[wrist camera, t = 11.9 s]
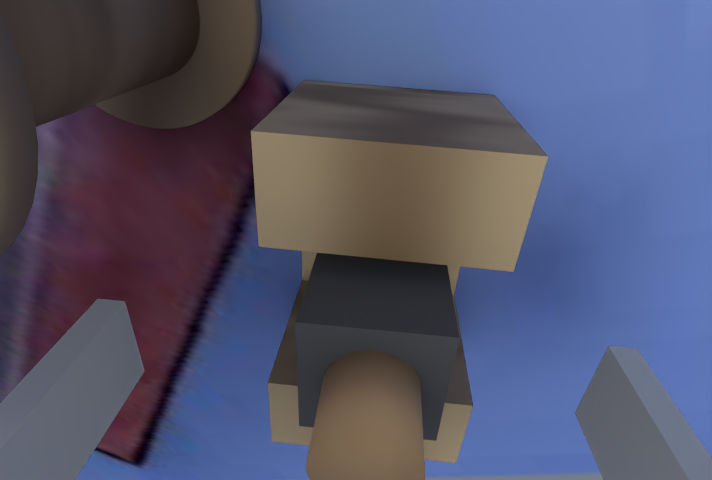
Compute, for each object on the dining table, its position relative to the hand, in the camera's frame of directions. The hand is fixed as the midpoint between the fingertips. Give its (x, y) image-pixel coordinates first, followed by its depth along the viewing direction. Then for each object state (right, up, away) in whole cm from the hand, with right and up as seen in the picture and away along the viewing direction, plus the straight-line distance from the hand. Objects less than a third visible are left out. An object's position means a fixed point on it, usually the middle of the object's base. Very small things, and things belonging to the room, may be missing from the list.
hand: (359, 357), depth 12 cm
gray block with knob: (+1, +4, +6) cm, 7 cm away
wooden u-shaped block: (+1, +4, +7) cm, 8 cm away
